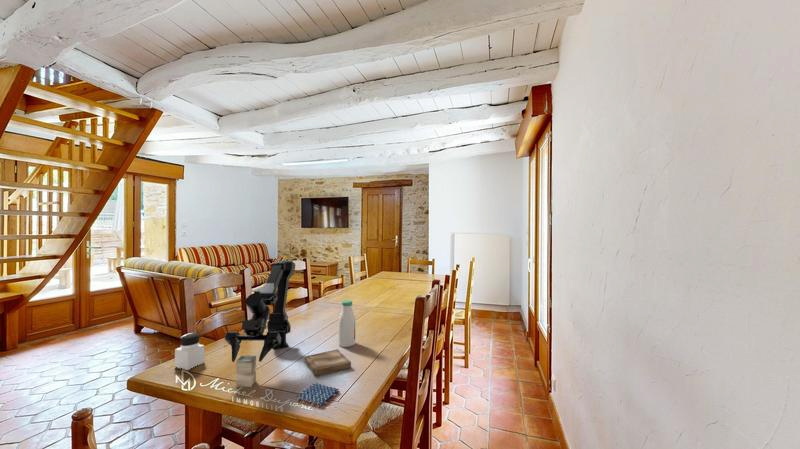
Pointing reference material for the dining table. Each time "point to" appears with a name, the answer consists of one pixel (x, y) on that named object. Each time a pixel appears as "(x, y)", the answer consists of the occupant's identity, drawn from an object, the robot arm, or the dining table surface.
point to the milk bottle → (347, 325)
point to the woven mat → (318, 395)
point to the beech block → (245, 371)
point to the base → (327, 363)
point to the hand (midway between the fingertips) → (246, 361)
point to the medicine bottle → (189, 352)
